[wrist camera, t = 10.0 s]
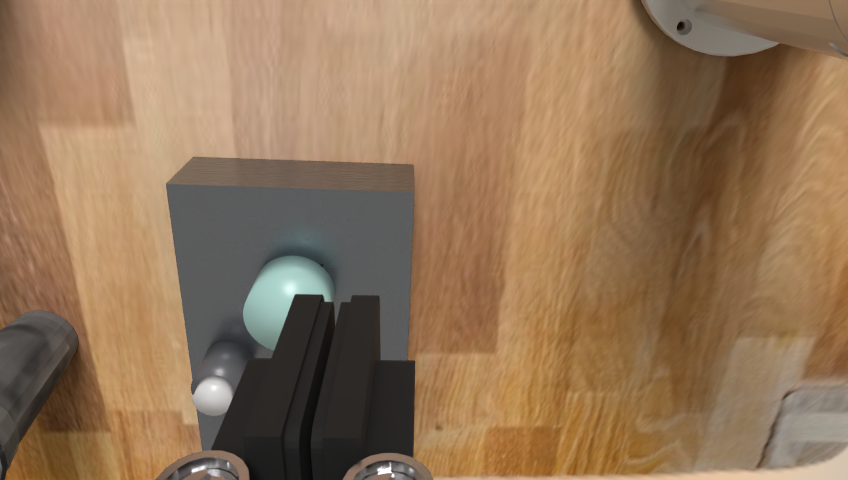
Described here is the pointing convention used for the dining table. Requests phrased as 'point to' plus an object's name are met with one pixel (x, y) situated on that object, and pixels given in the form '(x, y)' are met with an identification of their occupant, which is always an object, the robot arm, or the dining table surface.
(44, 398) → the beverage cup
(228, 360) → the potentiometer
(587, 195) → the dining table surface
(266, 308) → the teal knob
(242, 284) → the mount
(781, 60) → the dining table surface
